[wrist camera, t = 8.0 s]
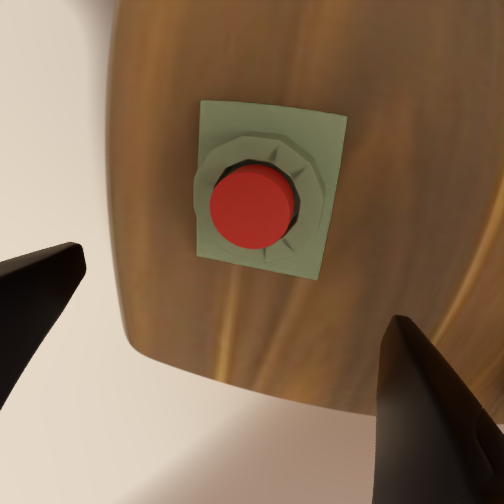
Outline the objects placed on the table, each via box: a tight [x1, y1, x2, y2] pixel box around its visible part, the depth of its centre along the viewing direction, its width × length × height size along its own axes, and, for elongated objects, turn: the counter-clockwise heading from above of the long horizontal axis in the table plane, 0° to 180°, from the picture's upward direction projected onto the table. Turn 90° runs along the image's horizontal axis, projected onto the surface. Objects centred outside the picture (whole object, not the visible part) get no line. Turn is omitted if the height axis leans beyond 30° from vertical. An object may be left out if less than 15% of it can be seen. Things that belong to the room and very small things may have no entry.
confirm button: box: [210, 164, 295, 249], centre depth 16 cm, size 4×4×2 cm
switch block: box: [193, 100, 347, 280], centre depth 17 cm, size 10×8×2 cm
